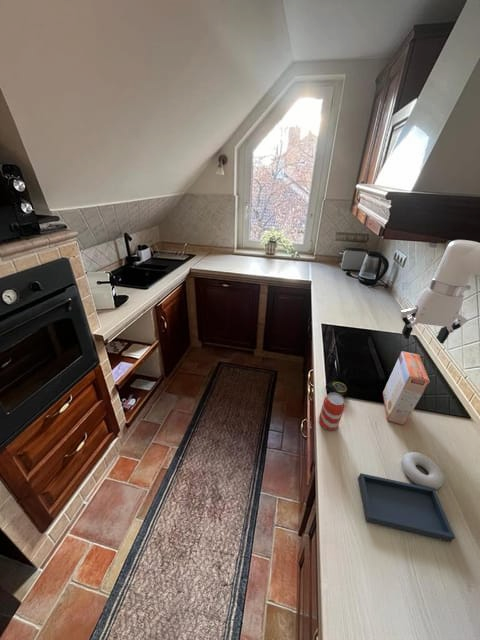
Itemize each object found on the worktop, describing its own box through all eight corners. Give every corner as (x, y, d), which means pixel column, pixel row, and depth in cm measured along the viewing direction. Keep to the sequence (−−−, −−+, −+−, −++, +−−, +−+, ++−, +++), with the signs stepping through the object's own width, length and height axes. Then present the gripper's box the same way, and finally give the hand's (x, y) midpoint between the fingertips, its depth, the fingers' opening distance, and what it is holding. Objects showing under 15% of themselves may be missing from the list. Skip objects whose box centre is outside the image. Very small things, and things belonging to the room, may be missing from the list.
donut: (414, 451, 78) (392, 463, 75) (419, 444, 77) (396, 456, 73) (448, 483, 70) (425, 498, 67) (454, 476, 69) (430, 491, 65)
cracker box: (405, 426, 86) (431, 381, 75) (386, 420, 88) (408, 375, 77) (399, 397, 97) (420, 354, 86) (382, 392, 99) (401, 349, 88)
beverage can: (327, 434, 83) (335, 409, 76) (314, 418, 88) (321, 394, 81) (341, 427, 85) (350, 403, 79) (328, 413, 90) (336, 388, 84)
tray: (430, 493, 68) (434, 488, 67) (450, 542, 59) (455, 538, 58) (357, 477, 71) (360, 472, 70) (366, 522, 62) (369, 517, 61)
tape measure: (323, 389, 99) (325, 382, 98) (337, 385, 102) (339, 378, 100) (335, 402, 94) (337, 395, 92) (349, 397, 96) (352, 390, 94)
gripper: (474, 285, 71) (447, 336, 80) (407, 279, 74) (388, 328, 83) (491, 296, 65) (459, 350, 73) (417, 289, 68) (395, 341, 76)
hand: (422, 338), depth 78 cm, fingers open, 9 cm apart
